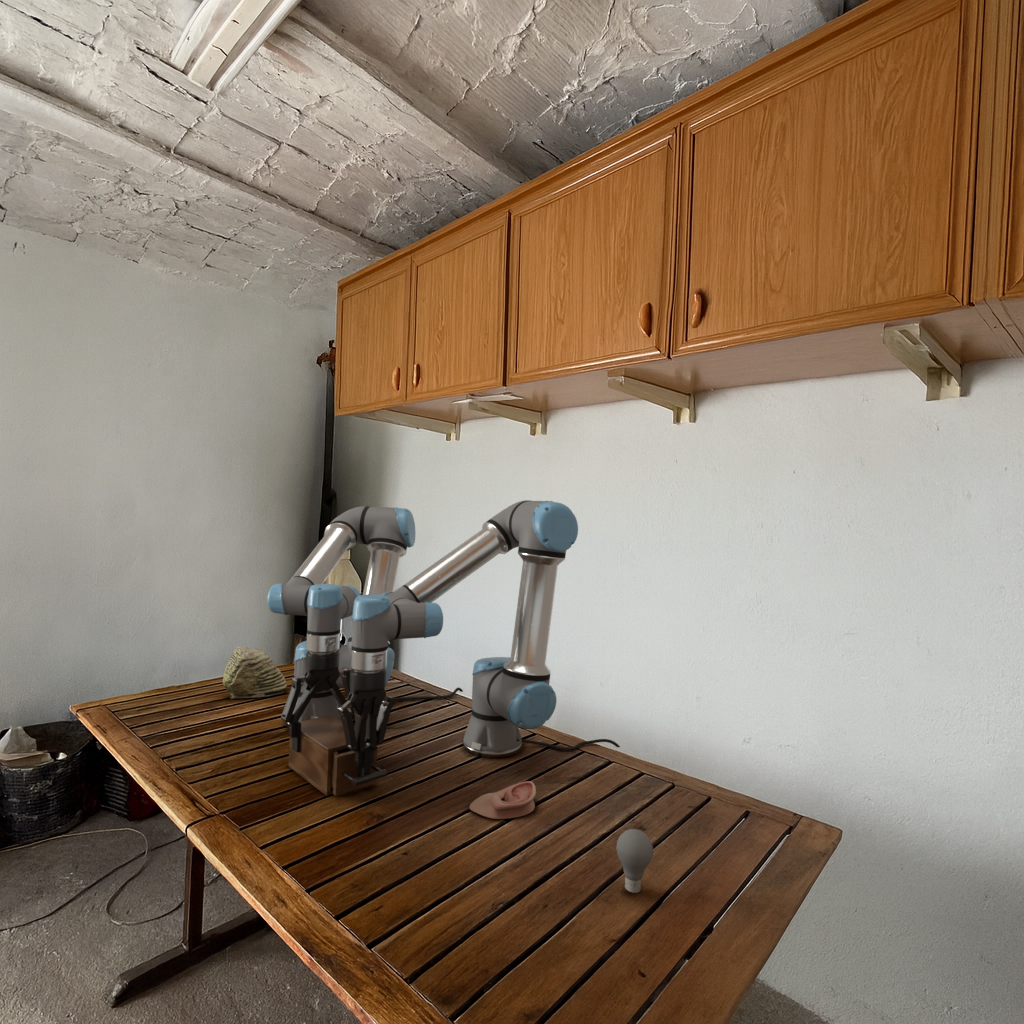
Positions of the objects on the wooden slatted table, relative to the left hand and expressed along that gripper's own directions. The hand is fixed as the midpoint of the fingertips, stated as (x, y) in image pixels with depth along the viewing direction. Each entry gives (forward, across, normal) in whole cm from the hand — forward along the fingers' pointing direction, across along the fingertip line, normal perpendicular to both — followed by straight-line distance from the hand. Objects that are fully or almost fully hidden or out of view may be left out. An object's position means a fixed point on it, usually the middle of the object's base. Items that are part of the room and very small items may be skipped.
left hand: (319, 744), depth 148 cm
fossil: (+5, +9, +60) cm, 61 cm away
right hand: (+1, 0, -20) cm, 20 cm away
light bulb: (+5, +18, -76) cm, 78 cm away
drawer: (+4, 0, -11) cm, 12 cm away
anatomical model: (+5, +21, -41) cm, 47 cm away
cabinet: (+5, 0, -5) cm, 7 cm away
